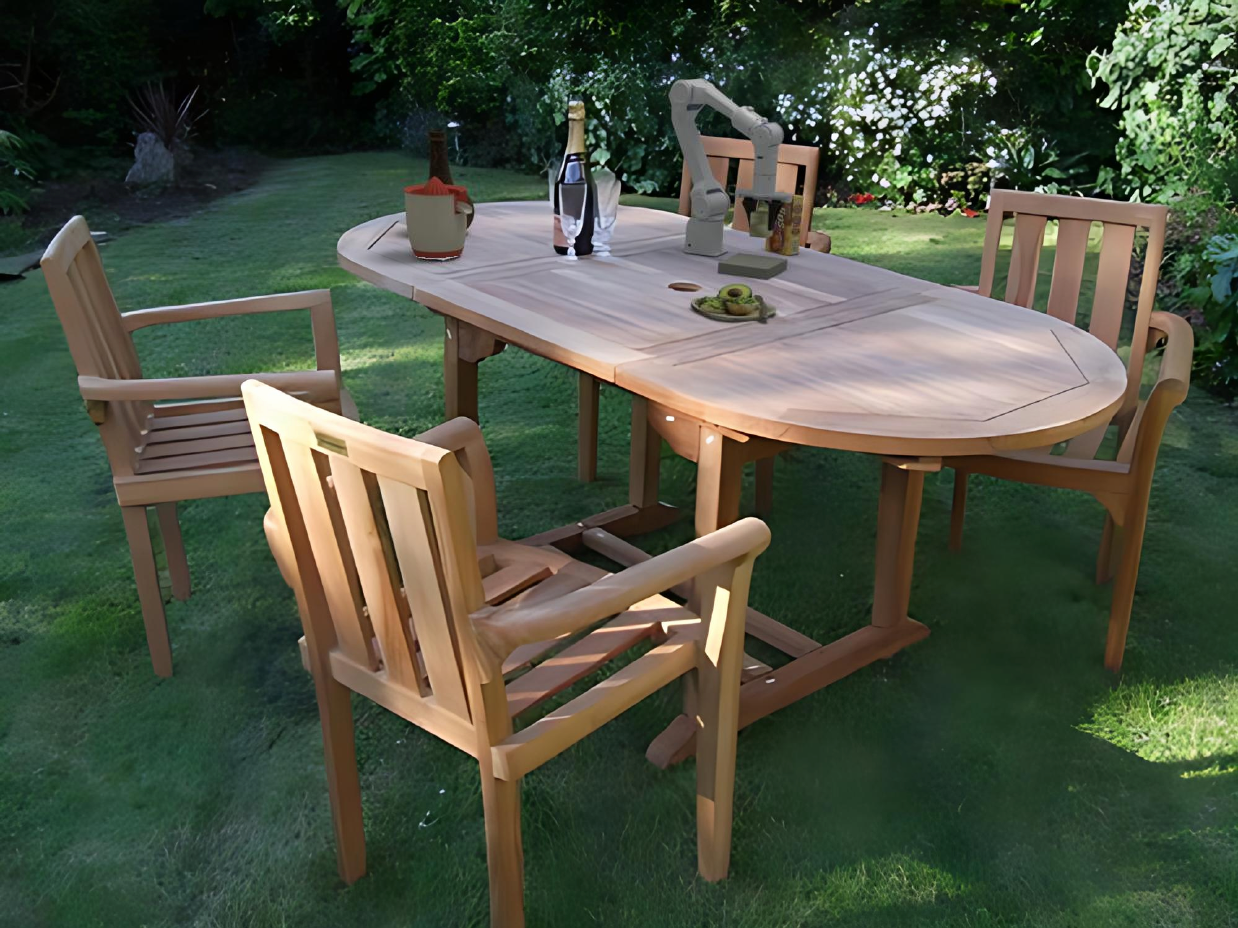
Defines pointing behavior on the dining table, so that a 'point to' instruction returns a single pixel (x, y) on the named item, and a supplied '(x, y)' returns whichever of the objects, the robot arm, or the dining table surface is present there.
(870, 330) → the dining table surface
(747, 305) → the salad plate
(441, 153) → the glass bottle
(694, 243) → the robot arm
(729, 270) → the base board
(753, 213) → the sage block
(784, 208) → the candy box
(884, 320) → the dining table surface
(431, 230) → the citrus juicer
